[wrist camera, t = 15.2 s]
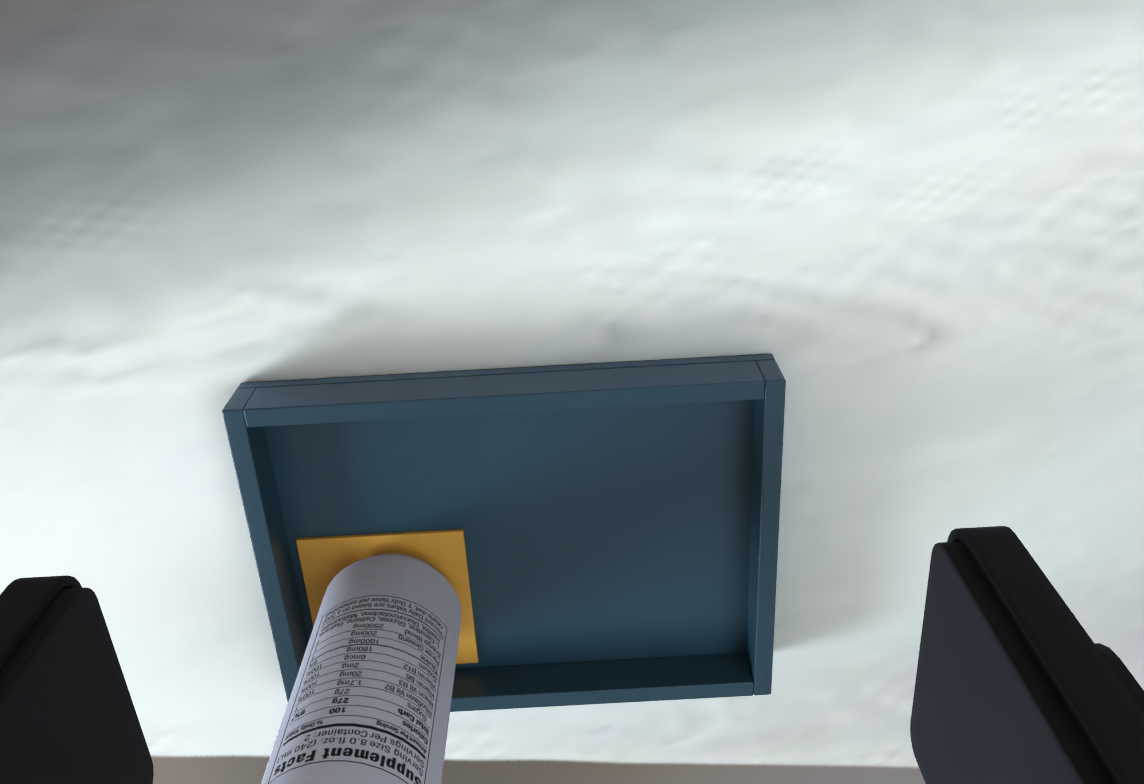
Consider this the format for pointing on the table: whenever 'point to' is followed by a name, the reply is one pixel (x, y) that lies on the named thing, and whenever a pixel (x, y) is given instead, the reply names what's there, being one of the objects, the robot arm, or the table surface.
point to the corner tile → (433, 547)
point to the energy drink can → (373, 680)
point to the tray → (543, 515)
